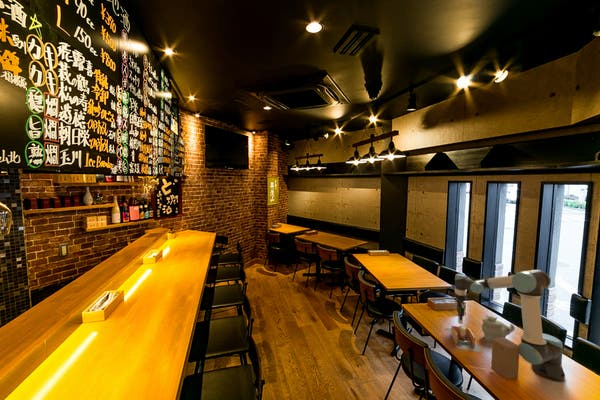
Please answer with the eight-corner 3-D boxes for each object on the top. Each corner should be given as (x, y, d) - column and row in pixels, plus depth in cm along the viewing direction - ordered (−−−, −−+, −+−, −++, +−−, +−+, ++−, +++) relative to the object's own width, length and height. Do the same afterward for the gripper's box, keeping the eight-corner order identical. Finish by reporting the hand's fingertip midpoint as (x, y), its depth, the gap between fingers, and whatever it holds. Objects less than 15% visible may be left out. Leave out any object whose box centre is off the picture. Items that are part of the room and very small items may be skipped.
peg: (467, 341, 188) (466, 328, 188) (461, 342, 188) (460, 329, 188) (463, 338, 192) (463, 325, 192) (458, 339, 192) (457, 326, 192)
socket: (470, 344, 185) (470, 342, 185) (458, 343, 187) (458, 340, 187) (466, 338, 193) (467, 336, 193) (454, 336, 195) (455, 334, 195)
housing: (474, 346, 183) (475, 337, 182) (455, 343, 186) (456, 334, 186) (469, 337, 194) (469, 328, 194) (451, 334, 198) (451, 325, 197)
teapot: (514, 344, 187) (515, 320, 185) (503, 350, 180) (504, 325, 179) (489, 333, 201) (490, 310, 200) (478, 338, 195) (479, 314, 194)
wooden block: (506, 380, 153) (508, 348, 152) (490, 368, 162) (491, 338, 161) (518, 377, 156) (520, 345, 154) (502, 365, 165) (503, 336, 164)
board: (482, 353, 177) (482, 352, 177) (456, 349, 182) (456, 348, 182) (468, 332, 203) (468, 330, 203) (446, 328, 207) (446, 327, 207)
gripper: (469, 297, 193) (468, 328, 194) (463, 291, 205) (463, 319, 206) (457, 296, 195) (457, 326, 196) (452, 290, 208) (452, 318, 208)
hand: (460, 323), depth 201 cm, fingers closed
